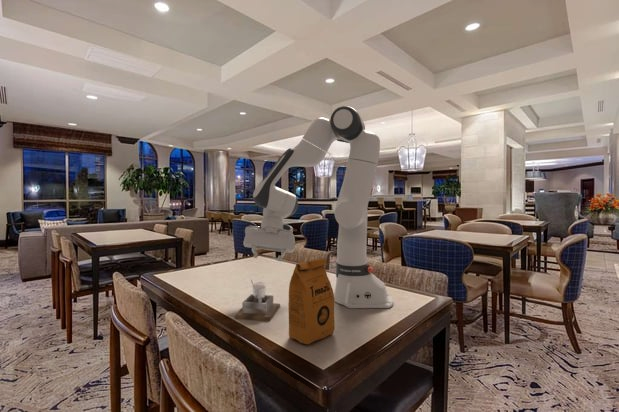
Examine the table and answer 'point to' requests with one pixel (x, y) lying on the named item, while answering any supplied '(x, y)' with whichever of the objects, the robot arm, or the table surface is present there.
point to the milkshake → (259, 292)
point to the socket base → (258, 309)
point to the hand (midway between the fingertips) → (267, 259)
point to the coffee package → (310, 302)
